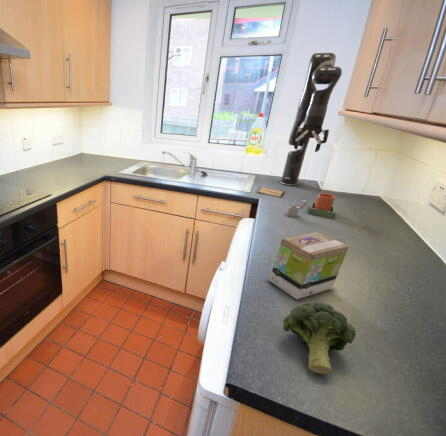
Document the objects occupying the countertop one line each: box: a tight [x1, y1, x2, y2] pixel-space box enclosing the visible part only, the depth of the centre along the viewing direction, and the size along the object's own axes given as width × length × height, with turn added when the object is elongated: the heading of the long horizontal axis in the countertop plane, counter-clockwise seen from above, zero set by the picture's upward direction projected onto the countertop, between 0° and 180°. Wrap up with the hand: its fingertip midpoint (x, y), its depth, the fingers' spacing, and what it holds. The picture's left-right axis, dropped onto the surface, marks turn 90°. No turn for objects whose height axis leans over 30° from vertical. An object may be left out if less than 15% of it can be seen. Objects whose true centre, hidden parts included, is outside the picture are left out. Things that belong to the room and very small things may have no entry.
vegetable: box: [282, 301, 357, 375], centre depth 63 cm, size 12×13×15 cm
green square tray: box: [308, 202, 336, 219], centre depth 144 cm, size 10×10×3 cm
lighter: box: [286, 199, 308, 218], centre depth 138 cm, size 7×2×8 cm, turn 85°
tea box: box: [269, 231, 350, 300], centre depth 85 cm, size 15×10×15 cm, turn 114°
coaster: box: [257, 186, 284, 198], centre depth 173 cm, size 12×12×1 cm
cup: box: [314, 192, 336, 211], centre depth 143 cm, size 7×7×9 cm
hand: (305, 150), depth 143 cm, fingers open, 8 cm apart
